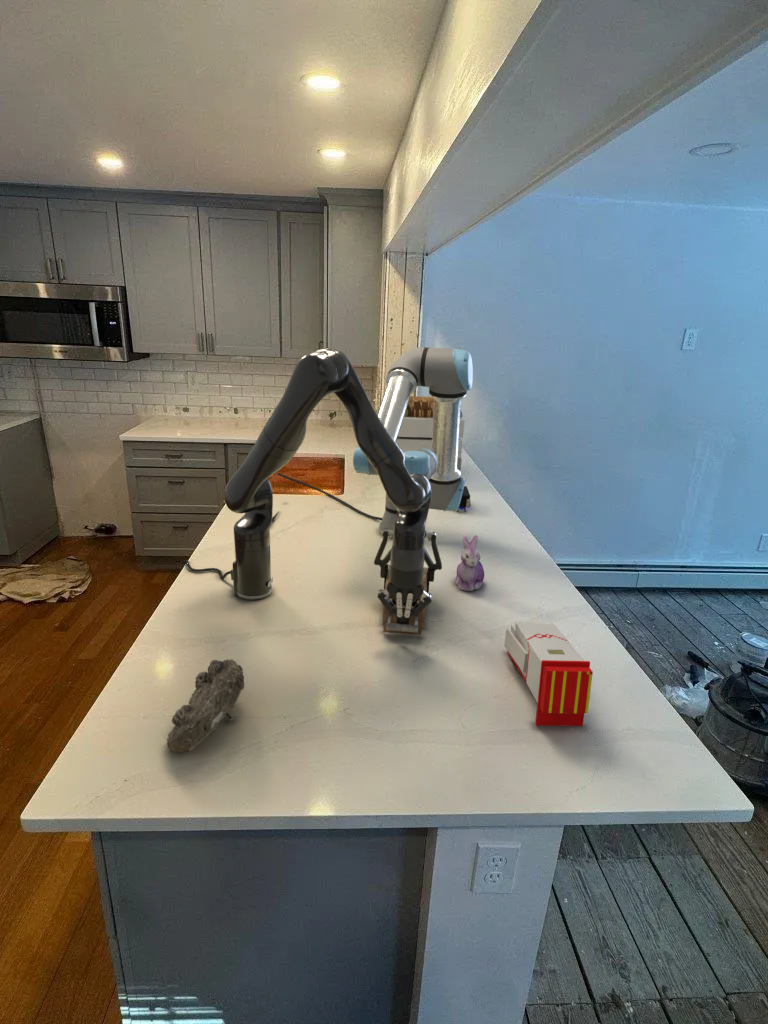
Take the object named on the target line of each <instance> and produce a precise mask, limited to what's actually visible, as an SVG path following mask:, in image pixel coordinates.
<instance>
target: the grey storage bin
mask: <svg viewBox="0 0 768 1024" xmlns="http://www.w3.org/2000/svg"><path fill="white" fill-rule="evenodd" d="M433 404H434V399H433V397H432V396H415V395H414V396H413V395H412V396H411V395H410V399H409V402H408V405H407V408H406V411H405V415H404V418H403V421H402V424H401V427H400V431H399V434H398V437H397V440H396V443H397V445H398V446H399V448H400V449H401V450H408V451H417V450H420V449H428V450H430V451H432V428H433ZM464 429H465V419H464V418H463V411H462V409H461V410H460V426H459V441H458V457H457V469H458V470H459V471H460V472H462V461H463V460H462V453H463V442H464V441H463V440H462V439H463V438H464V431H465V430H464Z"/></svg>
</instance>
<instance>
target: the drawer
mask: <svg viewBox="0 0 768 1024" xmlns="http://www.w3.org/2000/svg"><path fill="white" fill-rule="evenodd" d="M389 599H390V600H391V601H392V602H393V604H394V605H395V607H397V602H395V601H394V600H393V598H392V597H389ZM419 601H420V599H417V600H416V601H415V602H414V603H412V605H411V608H413V607H414V606H415V605H416V604H417V603H418V602H419ZM405 606H406V604H405V603H403V614H404V611H405ZM422 619H423V610H422V611H421V612H420V613H419V614H418V615H417V616H410V617H409V625H408V624H397V616H396V615H395V614H390V613H389V611H388V610H387V609H386V607H384V625H383V629H382V630H383V631H382V632H383V633H393V634H404V635H416V636H421V635H422V631H423V630H422V629H423V628H422Z"/></svg>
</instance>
